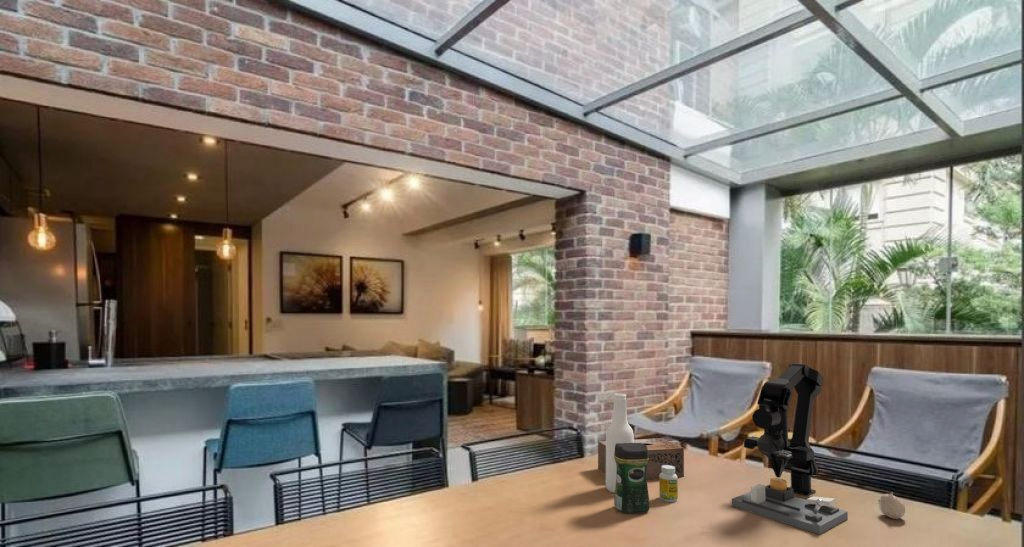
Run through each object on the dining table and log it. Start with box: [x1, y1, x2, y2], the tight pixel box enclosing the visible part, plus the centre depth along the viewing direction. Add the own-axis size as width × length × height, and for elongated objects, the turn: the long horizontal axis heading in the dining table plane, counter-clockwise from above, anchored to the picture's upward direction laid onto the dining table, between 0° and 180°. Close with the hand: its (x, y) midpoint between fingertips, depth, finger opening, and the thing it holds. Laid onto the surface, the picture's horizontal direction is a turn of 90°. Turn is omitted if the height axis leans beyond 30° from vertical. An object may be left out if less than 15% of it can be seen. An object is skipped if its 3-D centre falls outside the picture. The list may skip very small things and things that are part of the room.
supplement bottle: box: [658, 465, 679, 503], centre depth 156 cm, size 5×5×10 cm
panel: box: [731, 484, 849, 535], centre depth 147 cm, size 18×24×4 cm
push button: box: [769, 477, 788, 492], centre depth 155 cm, size 4×4×3 cm
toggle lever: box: [813, 499, 824, 514], centre depth 137 cm, size 2×2×4 cm
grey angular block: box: [750, 483, 766, 504], centre depth 149 cm, size 5×2×4 cm, turn 127°
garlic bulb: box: [877, 491, 906, 520], centre depth 145 cm, size 7×6×8 cm
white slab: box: [806, 496, 837, 507], centre depth 145 cm, size 4×6×1 cm, turn 37°
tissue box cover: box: [597, 437, 685, 480], centre depth 182 cm, size 26×14×10 cm, turn 105°
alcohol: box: [605, 392, 635, 494], centre depth 165 cm, size 9×9×30 cm
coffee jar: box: [613, 443, 651, 514], centre depth 148 cm, size 10×8×19 cm
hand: (778, 477), depth 155 cm, fingers closed
